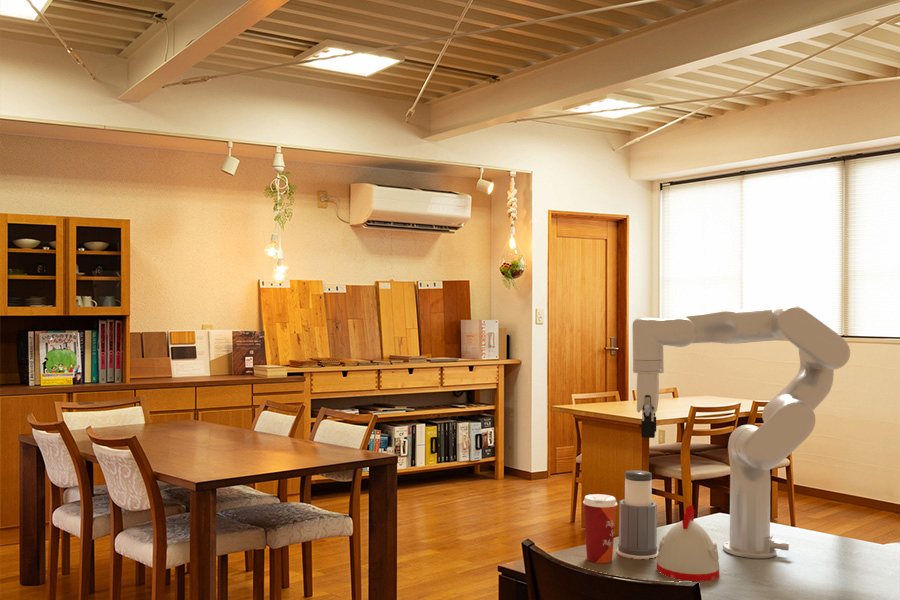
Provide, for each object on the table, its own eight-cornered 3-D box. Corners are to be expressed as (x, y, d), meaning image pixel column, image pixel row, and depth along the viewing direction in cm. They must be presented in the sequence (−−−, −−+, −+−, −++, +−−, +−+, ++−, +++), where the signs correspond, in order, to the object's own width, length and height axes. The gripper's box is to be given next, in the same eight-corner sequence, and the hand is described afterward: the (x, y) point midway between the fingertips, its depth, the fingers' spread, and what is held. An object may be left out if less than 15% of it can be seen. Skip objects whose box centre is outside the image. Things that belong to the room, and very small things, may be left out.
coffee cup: (616, 566, 196) (617, 502, 196) (581, 563, 198) (582, 500, 198) (616, 555, 204) (617, 494, 204) (582, 553, 206) (583, 492, 206)
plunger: (653, 542, 208) (654, 472, 208) (647, 548, 202) (647, 476, 202) (628, 538, 211) (629, 469, 211) (621, 544, 205) (622, 473, 205)
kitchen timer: (724, 568, 195) (725, 504, 195) (712, 585, 183) (713, 517, 183) (665, 559, 202) (666, 497, 202) (649, 575, 190) (650, 509, 190)
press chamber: (662, 551, 208) (663, 501, 209) (652, 561, 200) (652, 509, 200) (623, 545, 213) (624, 496, 213) (611, 555, 204) (612, 504, 204)
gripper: (635, 364, 220) (636, 429, 220) (630, 369, 203) (631, 439, 203) (664, 364, 218) (665, 430, 218) (662, 369, 201) (663, 440, 201)
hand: (649, 434), depth 210 cm, fingers open, 9 cm apart
